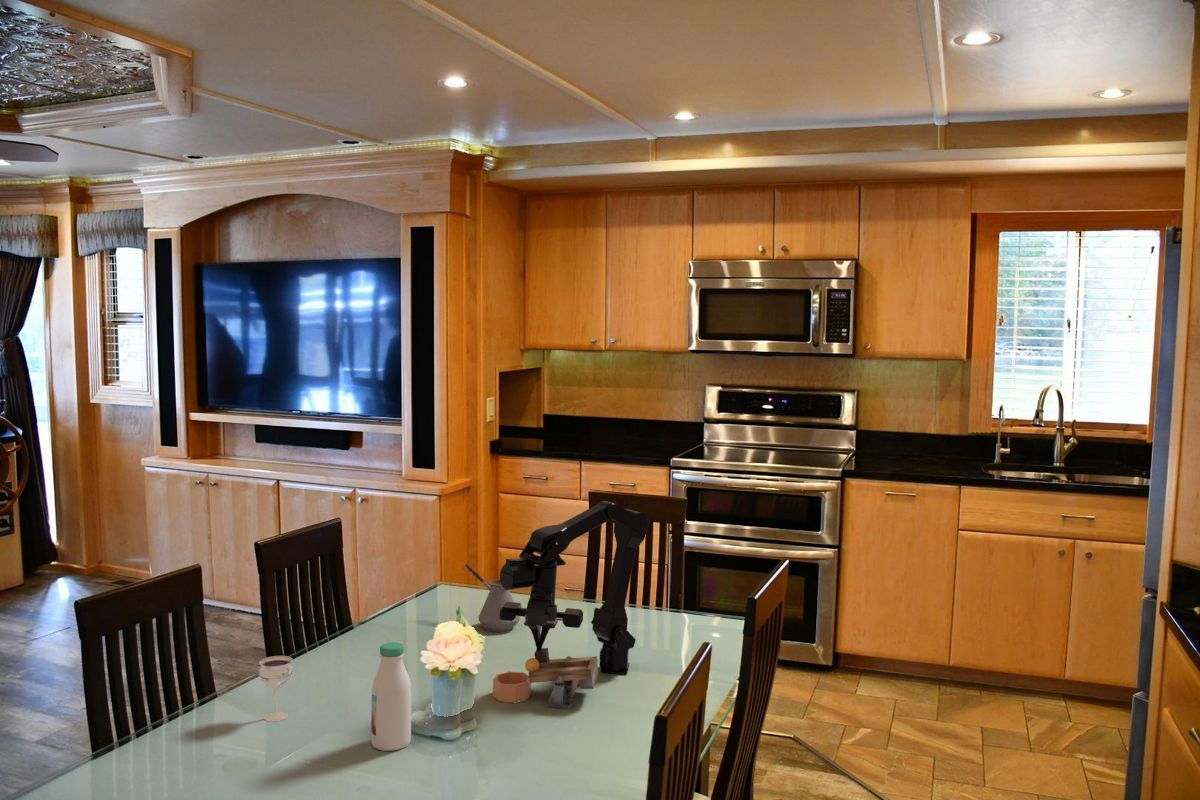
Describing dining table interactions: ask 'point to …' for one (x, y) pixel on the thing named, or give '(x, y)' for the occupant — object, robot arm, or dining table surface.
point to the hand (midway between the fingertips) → (539, 650)
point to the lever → (565, 669)
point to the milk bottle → (391, 701)
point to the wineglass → (275, 679)
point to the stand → (563, 694)
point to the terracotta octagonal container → (511, 686)
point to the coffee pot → (494, 605)
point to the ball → (532, 665)
